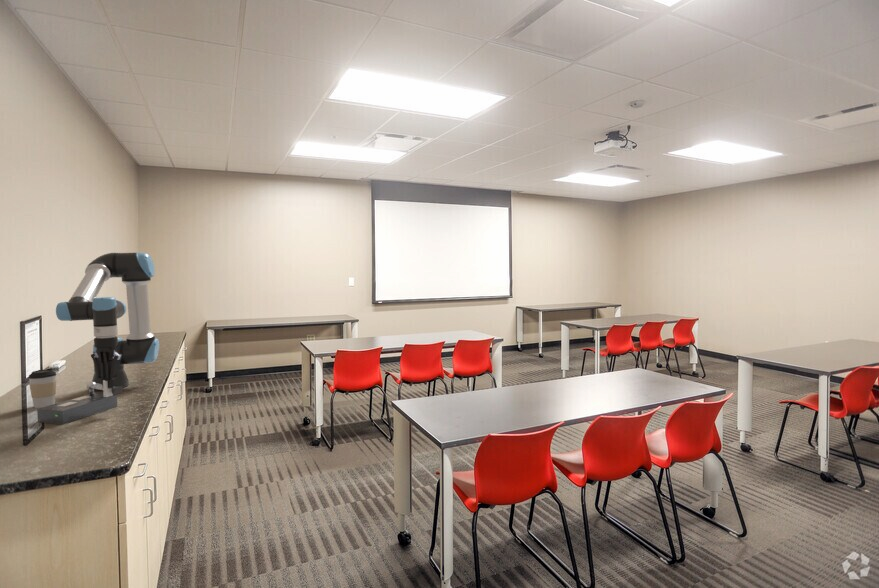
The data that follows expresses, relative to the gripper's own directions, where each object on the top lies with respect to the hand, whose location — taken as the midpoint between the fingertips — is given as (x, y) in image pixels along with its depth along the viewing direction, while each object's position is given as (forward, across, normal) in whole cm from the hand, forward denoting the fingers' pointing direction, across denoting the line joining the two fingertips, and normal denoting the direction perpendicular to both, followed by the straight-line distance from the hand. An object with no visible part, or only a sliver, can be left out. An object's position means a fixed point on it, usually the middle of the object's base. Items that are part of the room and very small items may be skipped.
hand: (108, 396), depth 181 cm
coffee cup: (+8, -37, +3) cm, 38 cm away
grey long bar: (-1, -7, +4) cm, 8 cm away
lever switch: (+7, -11, -3) cm, 14 cm away
